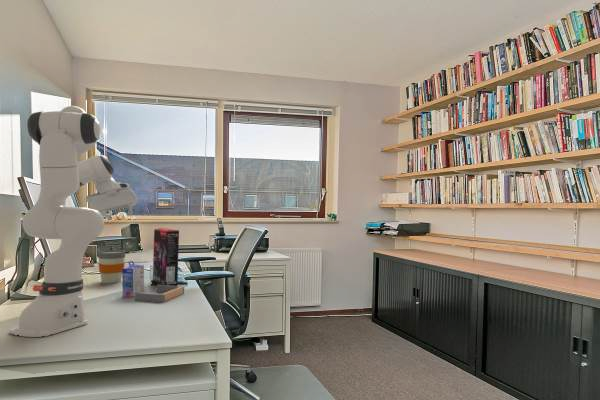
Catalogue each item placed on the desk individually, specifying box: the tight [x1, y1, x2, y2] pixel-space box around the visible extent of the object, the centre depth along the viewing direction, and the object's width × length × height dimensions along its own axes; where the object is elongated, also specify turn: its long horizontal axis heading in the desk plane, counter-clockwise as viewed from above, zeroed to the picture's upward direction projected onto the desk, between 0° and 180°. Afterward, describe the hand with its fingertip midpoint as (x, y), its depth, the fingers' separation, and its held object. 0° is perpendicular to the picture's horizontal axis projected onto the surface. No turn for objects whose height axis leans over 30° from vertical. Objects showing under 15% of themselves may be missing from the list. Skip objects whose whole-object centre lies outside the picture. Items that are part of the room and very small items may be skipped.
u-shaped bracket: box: [134, 284, 185, 303], centre depth 177 cm, size 17×13×3 cm
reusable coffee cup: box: [97, 249, 126, 284], centre depth 206 cm, size 13×13×15 cm
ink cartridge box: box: [121, 260, 145, 298], centre depth 180 cm, size 10×6×14 cm, turn 174°
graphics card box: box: [152, 227, 180, 286], centre depth 201 cm, size 17×7×27 cm, turn 40°
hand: (120, 216), depth 181 cm, fingers open, 8 cm apart
